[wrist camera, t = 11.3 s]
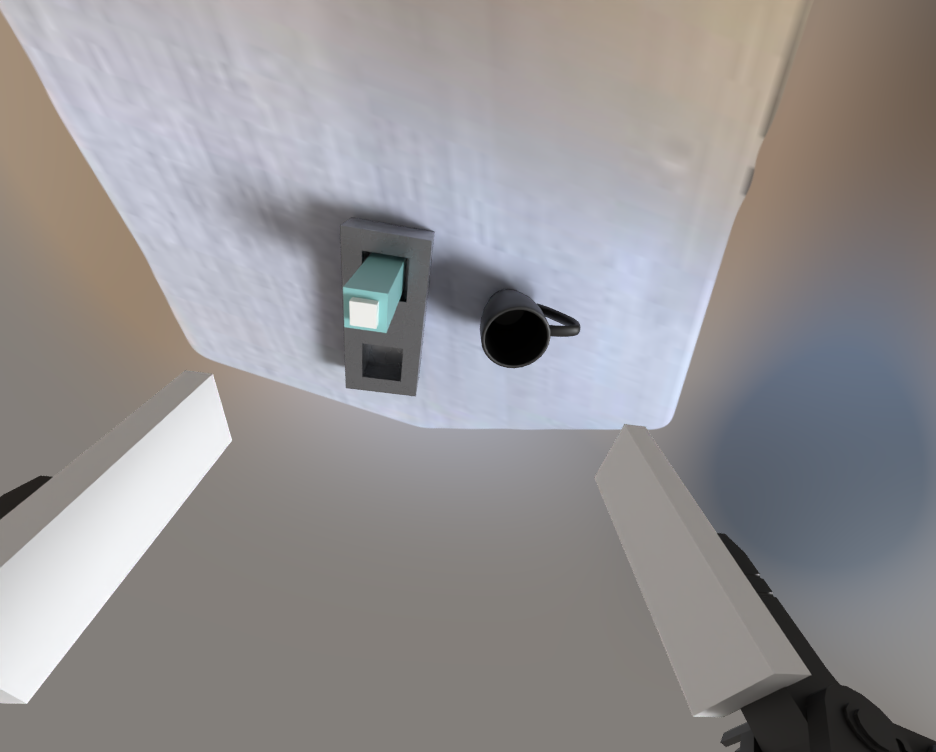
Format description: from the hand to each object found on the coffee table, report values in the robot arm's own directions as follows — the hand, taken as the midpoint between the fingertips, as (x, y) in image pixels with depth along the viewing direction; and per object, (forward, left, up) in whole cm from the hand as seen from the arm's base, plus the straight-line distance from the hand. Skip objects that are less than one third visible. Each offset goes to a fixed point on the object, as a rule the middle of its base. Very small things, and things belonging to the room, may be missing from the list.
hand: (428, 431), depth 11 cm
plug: (+6, -7, -36) cm, 37 cm away
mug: (+9, +11, -37) cm, 40 cm away
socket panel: (+12, -7, -37) cm, 39 cm away
